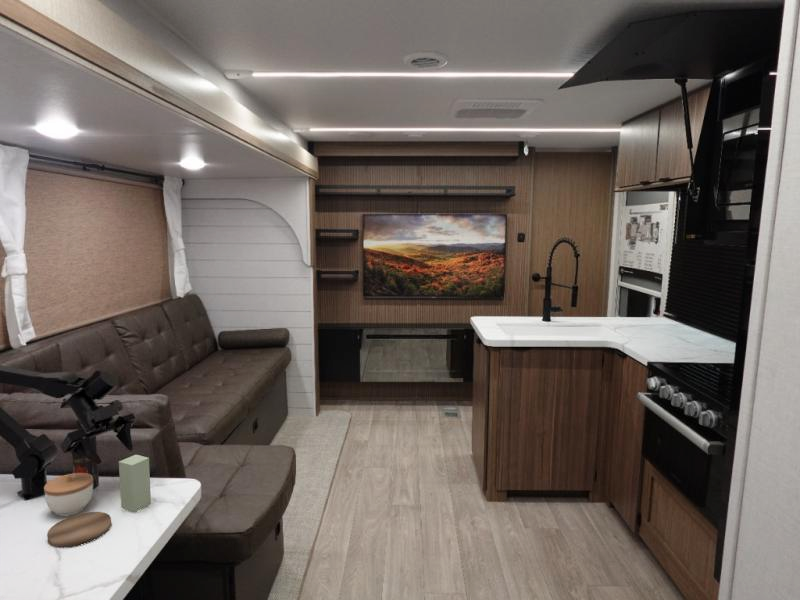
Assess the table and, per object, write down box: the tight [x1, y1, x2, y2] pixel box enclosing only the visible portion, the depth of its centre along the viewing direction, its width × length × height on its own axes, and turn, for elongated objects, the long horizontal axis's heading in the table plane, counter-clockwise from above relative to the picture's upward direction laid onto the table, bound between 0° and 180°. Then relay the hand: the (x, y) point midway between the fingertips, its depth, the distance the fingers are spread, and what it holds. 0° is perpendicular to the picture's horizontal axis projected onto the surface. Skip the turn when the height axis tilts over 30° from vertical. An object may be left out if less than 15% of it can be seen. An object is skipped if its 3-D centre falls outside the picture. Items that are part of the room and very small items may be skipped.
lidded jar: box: [44, 472, 94, 517], centre depth 131 cm, size 11×11×9 cm
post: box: [118, 454, 152, 514], centre depth 133 cm, size 5×5×13 cm
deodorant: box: [71, 436, 100, 490], centre depth 143 cm, size 6×6×15 cm
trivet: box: [46, 511, 112, 549], centre depth 121 cm, size 13×13×2 cm
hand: (116, 456), depth 135 cm, fingers open, 9 cm apart
